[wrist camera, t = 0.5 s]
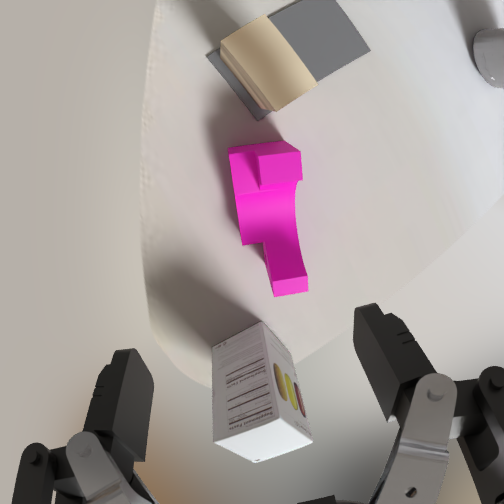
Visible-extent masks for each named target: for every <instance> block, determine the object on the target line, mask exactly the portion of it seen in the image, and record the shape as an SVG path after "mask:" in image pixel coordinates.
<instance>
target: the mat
mask: <svg viewBox="0 0 504 504" xmlns="http://www.w3.org/2000/svg"><path fill="white" fill-rule="evenodd" d="M269 20H270V21H271V22H272V23H273V24H274V26H275V27H276V28H277V29H278V31H279V32H280V33H281V34H282V36H283V37H284V38H285V39H286V41H287V42H288V43H289V45H290V46H291V47H292V48H293V50H294V51H295V52H296V54H297V55H298V56H299V58H300V59H301V61H302V62H303V63H304V65H305V66H306V67H307V69H308V70H309V72H310V73H311V74H312V76H313V77H314V79H315V80H316V82H318V81H319V80H321V79H323V78H324V77H326V76H328V75H329V74H331V73H333V72H334V71H336V70H338V69H340V68H341V67H343V66H345V65H346V64H348V63H350V62H352V61H353V60H355V59H357V58H359V57H361V56H362V55H364V54H366V53H368V52H370V51H371V50H370V49H369V47H368V46H367V44H366V43H365V41H364V39H363V38H362V36H361V35H360V34H359V32H358V31H357V29H356V28H355V26H354V25H353V23H352V22H351V21H350V19H349V18H348V16H347V15H346V14H345V12H344V11H343V10H342V8H341V7H340V6H339V4H338V3H337V2H336V0H302V1H300V2H298V3H296V4H294V5H292V6H290V7H288V8H286V9H284V10H282V11H280V12H278V13H277V14H275V15H273V16H271V17H269ZM207 58H208V59H209V61H210V62H211V63H212V64H213V65H214V66H215V68H216V69H217V70H218V71H219V73H220V74H221V75H222V76H223V77H224V79H225V80H226V81H227V82H228V84H229V85H230V86H231V87H232V89H233V90H234V91H235V92H236V94H237V95H238V96H239V97H240V99H241V100H242V101H243V102H244V104H245V105H246V106H247V108H248V109H249V110H250V111H251V113H252V114H253V115H254V117H255V118H256V119H257V121H259V120H260V119H261V118H263V117H264V116H266V115H267V114H269V113H270V112H272V111H271V110H266V109H261V108H259V106H258V105H257V104H256V102H255V101H254V100H253V99H252V97H251V96H250V95H249V93H248V92H247V91H246V90H245V88H244V87H243V86H242V84H241V83H240V82H239V81H238V79H237V78H236V77H235V76H234V74H233V73H232V72H231V71H230V70H229V68H228V67H227V66H226V65H225V63H224V62H223V61H222V60H221V59H220V48H219V49H218V50H216V51H215V52H213V53H212V54H210V55H209V56H208V57H207Z"/></svg>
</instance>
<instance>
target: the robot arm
mask: <svg viewBox="0 0 504 504" xmlns="http://www.w3.org/2000/svg"><path fill="white" fill-rule="evenodd" d="M473 50H474V57H475V61H476V64H477V67H478V69H479V71H480V73H481V75H482V76H483V78H484V79H485V80H486V81H487V83H489V84H490V85H491V86H493V87H497V88H503V89H504V28H500V29H483V30H480V31H479V32H478V33H477V34H476V36H475V38H474V44H473ZM353 342H354V347H355V351H356V353H357V356H358V358H359V360H360V362H361V364H362V367H363V369H364V371H365V373H366V375H367V378H368V380H369V382H370V384H371V386H372V388H373V391H374V393H375V395H376V397H377V400H378V402H379V405H380V407H381V409H382V411H383V414H384V416H385V418H386V421H387V423H388V422H391V421H393V420H396V419H397V421H398V423H399V426H400V428H399V430H398V433H397V436H396V439H395V442H394V445H393V447H392V450H391V453H390V455H389V458H388V461H387V463H386V466H385V468H384V471H383V473H382V475H381V478H380V479H379V482H378V483H377V486H376V488H375V490H374V492H373V494H372V496H371V499H370V501H369V503H368V504H436V501H437V498H438V495H439V492H440V489H441V486H442V483H443V479H444V476H445V472H446V469H447V465H448V460H449V452H448V451H447V444H448V440H449V439H451V438H457V441H458V443H459V446H460V448H461V450H462V453H463V455H464V458H465V460H466V463H467V465H468V468H469V470H470V473H471V475H472V478H473V481H474V483H475V486H476V489H477V492H478V495H479V497H480V500H481V503H482V504H504V368H502V367H498V366H492V367H488V368H486V369H485V370H484V371H483V372H482V373H481V375H480V376H479V378H478V379H471V380H463V381H453V380H452V379H451V378H450V377H448V376H446V375H444V374H440V373H437V372H436V371H435V369H434V368H433V366H432V364H431V363H430V361H429V360H428V358H427V357H426V355H425V353H424V352H423V350H422V349H421V347H420V346H419V344H418V343H417V341H415V338H414V337H413V335H412V334H411V333H410V332H409V329H408V328H407V326H406V325H405V323H404V322H403V321H402V320H401V319H400V318H398V317H397V316H395V315H394V314H392V313H389V314H386V315H384V314H383V312H382V311H381V309H380V308H379V306H378V305H377V304H376V303H372V304H368V305H364V306H360V307H356V308H355V311H354V331H353ZM95 387H96V388H95V389H94V392H93V398H92V399H91V402H90V406H89V410H88V413H87V417H86V421H85V424H84V428H83V431H82V432H79V433H77V434H75V435H74V436H73V437H72V438H71V439H70V440H69V442H68V443H67V446H65V447H60V448H56V449H51V450H49V449H48V448H46V447H45V446H44V445H43V444H41V443H32V444H30V445H29V446H27V447H26V449H25V450H24V451H23V453H22V456H21V460H20V465H19V469H18V473H17V478H16V483H15V488H14V493H13V498H12V504H51V501H52V493H53V490H54V491H56V498H55V504H159V503H158V502H157V500H156V499H155V498H154V497H153V495H152V494H151V493H150V491H149V490H148V488H147V487H146V486H145V484H144V483H143V481H142V480H141V479H140V477H139V476H138V474H137V473H136V471H135V470H134V469H133V466H134V461H137V462H145V455H146V445H147V436H148V429H149V421H150V413H151V406H152V398H153V392H154V382H153V378H152V375H151V373H150V372H149V370H148V368H147V366H146V365H145V363H144V361H143V360H142V358H141V356H140V355H139V353H138V351H137V350H136V349H134V348H132V349H123V350H116V351H115V353H114V355H113V358H112V361H111V364H109V365H106V366H105V367H104V369H103V370H102V371H101V373H100V374H99V376H98V379H97V382H96V385H95ZM297 504H364V503H361V502H355V501H347V500H335V496H334V495H332V496H328V497H324V498H319V499H315V500H310V501H306V502H301V503H297Z"/></svg>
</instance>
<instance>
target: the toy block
mask: <svg viewBox="0 0 504 504" xmlns="http://www.w3.org/2000/svg"><path fill="white" fill-rule="evenodd" d="M228 153H229V160H230V167H231V174H232V180H233V187H234V194H235V201H236V207H237V214H238V220H239V227H240V234H241V240H242V246H243V245H249V244H256V243H262V242H263V250H264V258H265V265H266V269H267V272H268V276H269V280H270V284H271V287H272V291H273V295H274V297H278V296H284V295H290V294H295V293H301V292H307V291H308V275H307V273H306V270H305V267H304V263H303V259H302V255H301V251H300V246H299V240H298V234H297V226H296V217H295V190H296V185H297V182H298V181H299V180H303V177H302V164H301V152H300V151H299V150H298V149H296V148H295V147H293V146H292V145H290V144H289V143H287V142H286V141H276V142H267V143H259V144H251V145H244V146H237V147H230V148H228Z"/></svg>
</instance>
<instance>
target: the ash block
mask: <svg viewBox="0 0 504 504" xmlns="http://www.w3.org/2000/svg"><path fill="white" fill-rule="evenodd" d="M220 59H221V60H222V61H223V62H224V63H225V65H226V66H227V67H228V68H229V70H230V71H231V72H232V73H233V74H234V76H235V77H236V78H237V79H238V81H239V82H240V83H241V84H242V86H243V87H244V88H245V90H246V91H247V92H248V93H249V95H250V96H251V97H252V99H253V100H254V101H255V102H256V104H257V105H258V106H259V108H261V109H266V110H271V111H275V112H277V111H278V110H280V109H281V108H283V107H284V106H286V105H287V104H289V103H290V102H292V101H293V100H295V99H296V98H298V97H300V96H301V95H303V94H304V93H306V92H307V91H309V90H311V89H312V88H314V87H315V86H317V85H318V83H317V82H316V80H315V79H314V77H313V76H312V74H311V73H310V72H309V70H308V69H307V67H306V66H305V65H304V63H303V62H302V61H301V59H300V58H299V56H298V55H297V54H296V52H295V51H294V50H293V48H292V47H291V46H290V45H289V43H288V42H287V41H286V39H285V38H284V37H283V36H282V34H281V33H280V32H279V31H278V29H277V28H276V27H275V26H274V24H273V23H272V22H271V21H270V20H269V18H268V17H267V16H266V15H265V14H264V15H262V16H260V17H259V18H257V19H255V20H253V21H252V22H250V23H248V24H247V25H245V26H243V27H242V28H240V29H238V30H237V31H235V32H234V33H232V34H231V35H229V36H227V37H226V38H224V39H223V40H221V45H220Z"/></svg>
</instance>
